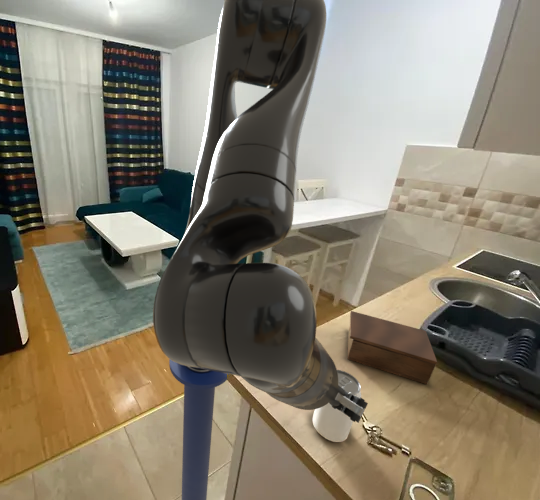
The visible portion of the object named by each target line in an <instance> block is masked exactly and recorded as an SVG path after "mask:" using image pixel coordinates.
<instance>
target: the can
mask: <svg viewBox="0 0 540 500" xmlns="http://www.w3.org/2000/svg"><path fill="white" fill-rule="evenodd" d="M337 373H338V385H339V386H340V387H341V388H343V389H344V390H345V391H346V392H348V393H351V394H353V395H354V396H356V397H358V398H360V397H361V398H362V391H361V390H362V386H361V383H360V382H359V380H358V379H357V378H356V377H355V376H354V375H353V374H351V373H349V372H347V371H345V370H341V369H337ZM353 423H354V421H352V420H351V419H350V417H348V416H347V415H345V414H344V413H342V412H341V411H339V410H338V409H334V408H333V407H332V405H330V403H328V404H326V405H325V406H323V407H321V408H318V409H314V410H313V415H312V424H313V425H312V426H313V427H314V429H315V430H316V432H317V433H318V434H319V435H320V436H322V438H324V439H325V440H328V441H329V442H333V443H342V442H344V441H346V440H347V439H348V437H349V434H350V431H351V428H352V425H353Z"/></svg>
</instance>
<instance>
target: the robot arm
mask: <svg viewBox="0 0 540 500" xmlns="http://www.w3.org/2000/svg"><path fill="white" fill-rule="evenodd" d="M220 12H221V13H220V15H219V21H218V27H217V28H218V29H217V35H216V39H215V40H216V41H215V49H214V54H213V55H214V56H213V65H212V73H211V81H210V88H209V96H208V105H207V112H206V120H205V126H204V132H203V136H202V142H201V147H200V151H199V155H198V160H197V165H196V169H195V175H194V180H193V184H192V185H193V186H192V190H191V191H192V192H191V200H190V207H189V213H188V219H187V224H186V228H185V231H184V234H183V237H182V239H181V241H180V242H179V244H178V246H177V248H176V249H175V251H174V252H173V254H172V256H171V257H170V259H169V261H168V262H167V265H166V267H165V269H164V271H163V273H162V275H161V277H160V280H159V282H158V285H157V288H156V291H155V295H154V300H153V304H152V305H153V306H152V324H153V332H154V336H155V339H156V343H157V345H158V347H159V349H160V350H161V352H162V353H163V354H164V355H165V357H167V358H168V360H169V359H170V360H172V361H174V362H176V363H178V364H181V365H185V366H186V367H187V368H188V369H189V370H191V371H193V372H196V373H208V372H211V371H216V372H221V373H226V374H231V375H232V376H238V377H241V378H242V380H244V381H245V382H247V384H249V385H251V386H252V387H254V388H256V389H258V390H259V391H261V392H264V393H266V394H267V395H268V396H269V397H271V398H273V399H275V400H276V401H278V402H281V403H284V404H286V405H288V406H290V407H293V408H296V409H298V410H302V411H303V410H304V411H315V409H318V408H321V407H323V406H325V405H326V404H328V403H330V405H332V407H333V408H334V409H338V410H339V411H341V412H342V413H344V414H345V415H347V416H348V417H350V419H351V420H352V421H353V423H355V422H356V423H358V424H359V423H360V422H361V418H362V416H363V414H364V412H365V410H366V408H367V406H368V402H366V400H365V399H364V398H363V397H362V396H361V397H360V398H358V397H356V396H354V395H353V394H351V393H348V392H346V391H345V390H344V389H343V388H341V387H340V386H339V385H338V373H337V370H338V369H337V366H336V364H335V362H334V360H333V358H332V357H331V355H330V354H329V353H328V351H327V350H326V348H325V347H324V345H322V343H321V341H319V340H318V338H317V337H316V335H317V321H318V320H317V319H318V317H317V306H316V301H315V298H314V295H313V292H312V289H311V287H310V285H309V284H308V282H307V280H305V278H303V276H301V275H300V274H299V273H298V272H296V270H293V269H292V268H290V267H287V266H285V265H283V264H279V263H275V262H246V263H245V262H243V263H241V262H240V261H241V260H243V259H244V258H246V257H248V256H251V255H252V254H257V253H259V252H262V251H265V250H268V249H270V248H273V247H275V246H277V245H280V243H282V242H283V241H284V240H286V238H287V237H288V236H289V234H290V232H291V229H292V225H293V221H294V211H295V210H294V209H295V197H296V183H297V182H296V181H297V168H298V167H297V166H298V153H299V147H300V146H299V145H300V140H301V137H302V130H303V126H304V122H305V119H306V115H307V111H308V109H309V108H308V107H309V104H310V99H311V95H312V91H313V88H314V83H315V80H316V79H315V78H316V75H317V70H318V66H319V62H320V57H321V54H322V53H321V52H322V48H323V45H324V44H323V43H324V39H325V33H326V27H327V6H326V1H325V0H223V4H222V9H221V11H220ZM236 83H241V84H246V85H249V86H250V85H251V86H255V87H259V88H260V87H261V88H265V89H269V90H270V91H269V92H267V93H266V94H265V95H264V96H263V97H261V98H260V99H258V100H257V101H256V102H254V103H253V104H252V105H250V106H249V107H248V108H247V109H245V110H244V111H243V112H241V113H240V114H239V115H238V113H237V105H236ZM239 262H240V263H239ZM231 375H230V376H231Z"/></svg>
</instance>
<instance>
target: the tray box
mask: <svg viewBox="0 0 540 500" xmlns="http://www.w3.org/2000/svg"><path fill="white" fill-rule="evenodd" d="M347 334H348V335H347V360H349V361H352V362H355V363H359V364H361V365H364V366H367V367H371V368H374V369H377V370H380V371H382V372H383V371H384V372H387V373H390V374H393V375H396V376H399V377H402V378H405V379H407V380H408V379H409V380H412V381H415V382H417V383H421V384H424V385H428V383H429V381H430V379H431V377H432V374H433V372H434V370H435V368H436V365H437V363H436V364H433V363H429V362H426V361H423V360H419V359H416V358H413V357H410V356H406V355H403V354H400V353H396V352H393V351H390V350H387V349H383V348H380V347H377V346H373V345H370V344H367V343H363V342H360V341H357V340H354V339H350V327H349V328H348V331H347Z"/></svg>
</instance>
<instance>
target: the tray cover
mask: <svg viewBox="0 0 540 500" xmlns="http://www.w3.org/2000/svg"><path fill="white" fill-rule="evenodd" d="M349 314H350V315H349V328H350V339H354V340H357V341H360V342H363V343H367V344H370V345H373V346H377V347H380V348H383V349H387V350H390V351H393V352H396V353H400V354H403V355H406V356H410V357H413V358H416V359H419V360H423V361H426V362H429V363H433V364H436V365H437V364H438V361H437V357H436V355H435V352H434V349H433V346H432V344H431V341H430V338H429V336H428V333H427V331H426V330H424V329H420V328H416V327H413V326H409V325H406V324H402V323H398V322H394V321H391V320H386V319H383V318H380V317H376V316H371V315H368V314H364V313H361V312H357V311H353V310H350V313H349Z"/></svg>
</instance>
